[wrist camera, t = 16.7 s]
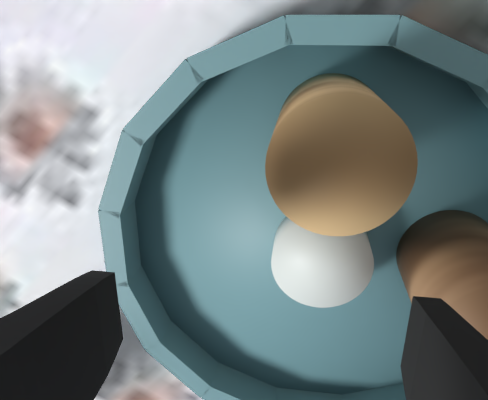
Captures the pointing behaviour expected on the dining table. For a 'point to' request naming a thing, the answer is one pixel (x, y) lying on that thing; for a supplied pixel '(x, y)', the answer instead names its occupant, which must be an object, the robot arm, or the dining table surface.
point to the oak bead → (339, 157)
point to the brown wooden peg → (448, 263)
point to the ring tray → (273, 219)
